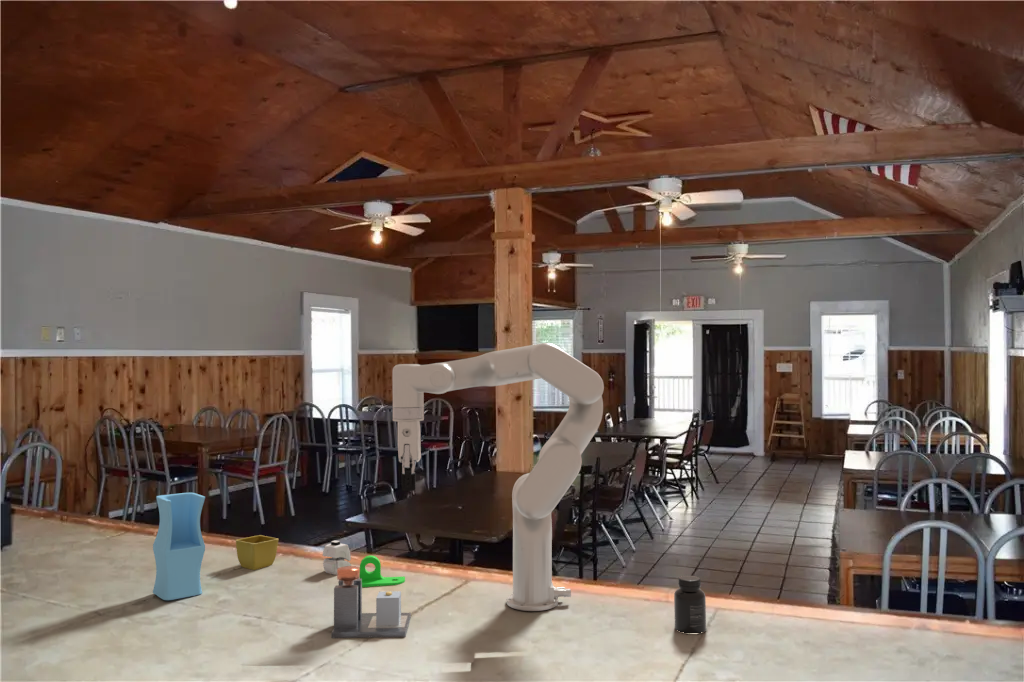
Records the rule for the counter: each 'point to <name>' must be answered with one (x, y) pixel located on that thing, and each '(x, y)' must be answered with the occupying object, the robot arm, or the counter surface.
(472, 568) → the counter surface
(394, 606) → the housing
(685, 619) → the supplement bottle
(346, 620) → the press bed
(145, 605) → the counter surface
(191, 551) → the vase
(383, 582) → the mechanical part
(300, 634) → the counter surface
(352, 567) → the ram
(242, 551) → the flower pot
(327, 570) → the grey blocky fitting
